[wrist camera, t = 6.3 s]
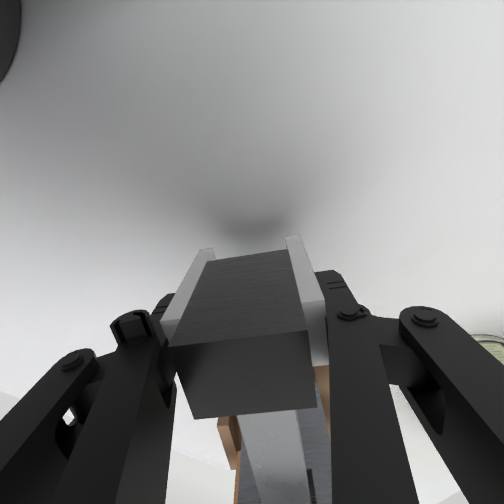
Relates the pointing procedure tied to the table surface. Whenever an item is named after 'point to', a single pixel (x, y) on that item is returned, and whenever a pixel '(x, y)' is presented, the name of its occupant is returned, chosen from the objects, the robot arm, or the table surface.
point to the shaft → (251, 364)
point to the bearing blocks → (314, 453)
